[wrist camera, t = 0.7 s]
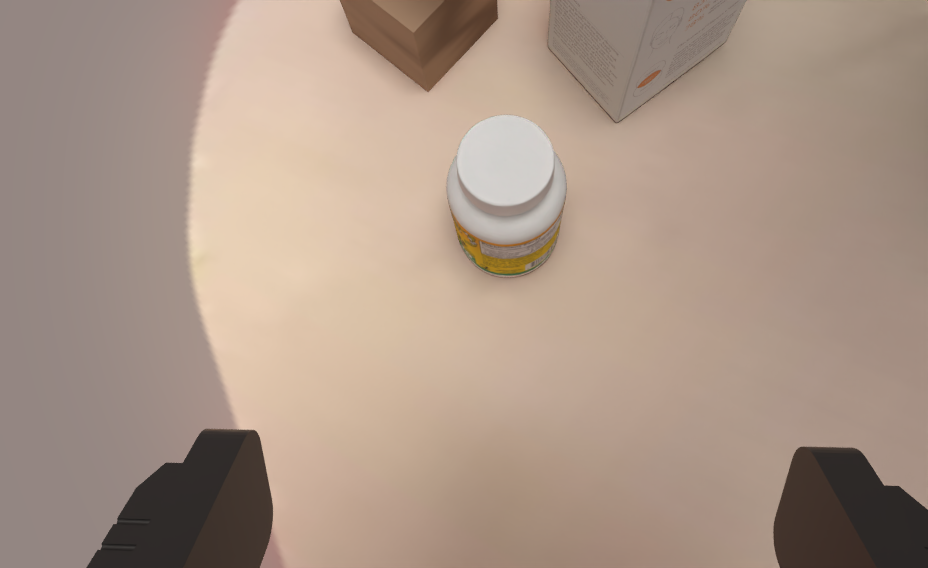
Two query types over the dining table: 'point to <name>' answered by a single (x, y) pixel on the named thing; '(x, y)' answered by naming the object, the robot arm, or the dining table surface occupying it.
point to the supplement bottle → (506, 195)
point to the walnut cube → (421, 32)
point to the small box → (635, 44)
